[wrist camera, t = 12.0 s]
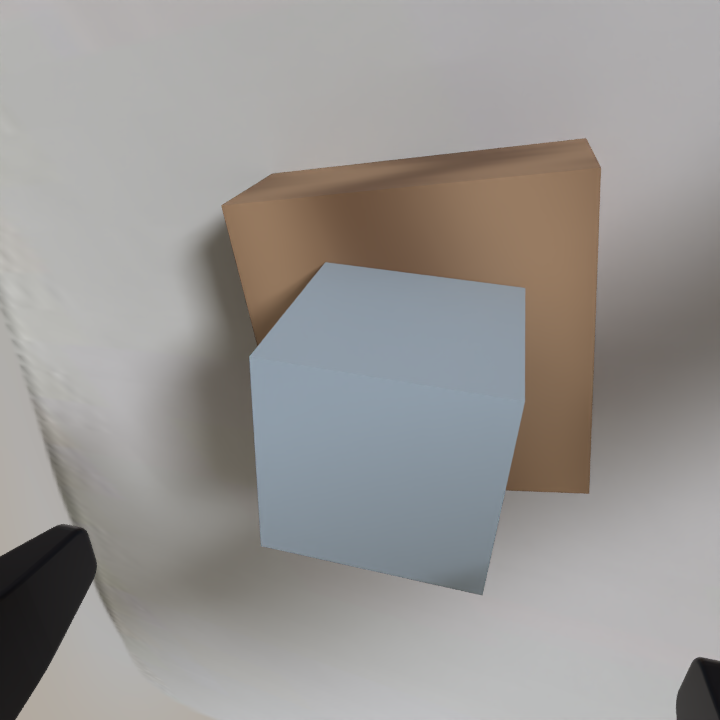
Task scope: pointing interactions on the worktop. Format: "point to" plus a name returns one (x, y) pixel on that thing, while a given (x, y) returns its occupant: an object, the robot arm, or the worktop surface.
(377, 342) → the slate cube
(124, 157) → the worktop surface
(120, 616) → the worktop surface
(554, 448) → the walnut block
